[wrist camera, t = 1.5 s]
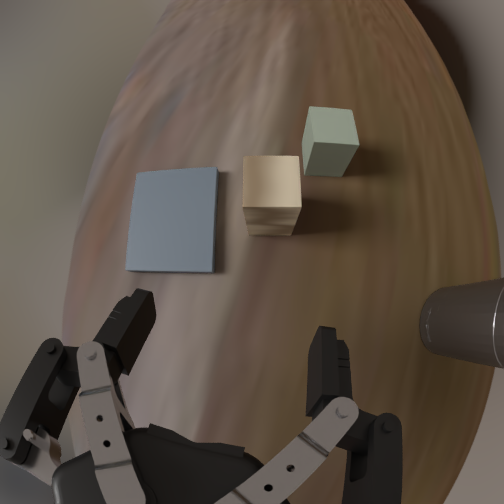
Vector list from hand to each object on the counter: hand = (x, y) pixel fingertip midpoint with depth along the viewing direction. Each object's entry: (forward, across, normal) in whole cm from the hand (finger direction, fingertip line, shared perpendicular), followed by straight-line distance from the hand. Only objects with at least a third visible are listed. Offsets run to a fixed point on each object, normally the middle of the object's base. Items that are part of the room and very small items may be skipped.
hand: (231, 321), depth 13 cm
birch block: (+22, 0, +5) cm, 22 cm away
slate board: (+20, +11, +7) cm, 24 cm away
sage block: (+28, -6, -1) cm, 29 cm away
